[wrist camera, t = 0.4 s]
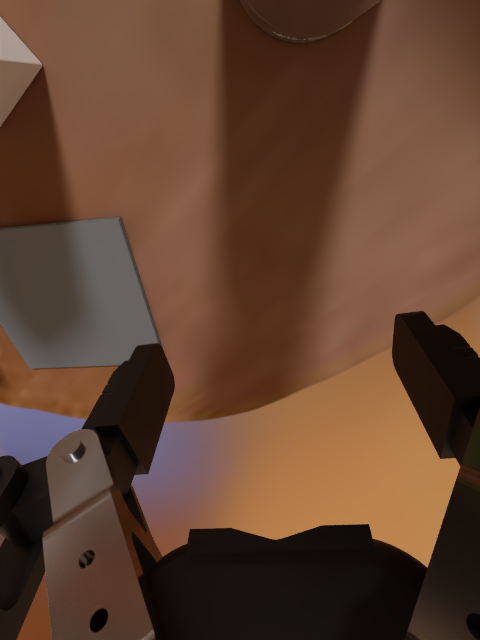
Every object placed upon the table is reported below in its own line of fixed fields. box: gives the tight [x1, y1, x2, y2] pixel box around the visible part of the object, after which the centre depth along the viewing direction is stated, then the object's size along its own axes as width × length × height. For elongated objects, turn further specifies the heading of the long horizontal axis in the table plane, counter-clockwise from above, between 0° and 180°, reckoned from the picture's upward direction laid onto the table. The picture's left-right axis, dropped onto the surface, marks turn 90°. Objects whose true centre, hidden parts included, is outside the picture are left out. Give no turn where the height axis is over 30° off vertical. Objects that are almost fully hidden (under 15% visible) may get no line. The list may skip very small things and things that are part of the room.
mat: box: [0, 217, 162, 369], centre depth 32 cm, size 16×16×1 cm
